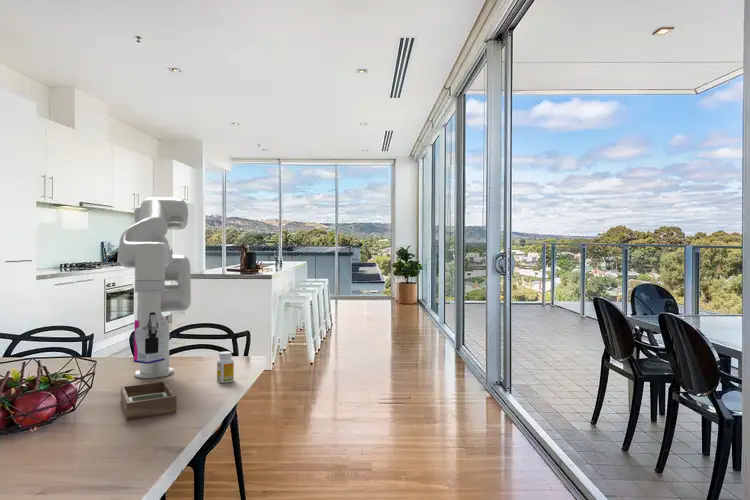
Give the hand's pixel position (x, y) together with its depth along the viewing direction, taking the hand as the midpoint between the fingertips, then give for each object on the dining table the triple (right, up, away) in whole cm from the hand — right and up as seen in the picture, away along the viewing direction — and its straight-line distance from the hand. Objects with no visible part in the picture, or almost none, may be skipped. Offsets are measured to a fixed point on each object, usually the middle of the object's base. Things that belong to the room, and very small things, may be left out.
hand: (149, 350), depth 133 cm
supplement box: (0, -3, 0) cm, 3 cm away
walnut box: (-2, -17, +3) cm, 17 cm away
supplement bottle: (+12, -17, +30) cm, 37 cm away
